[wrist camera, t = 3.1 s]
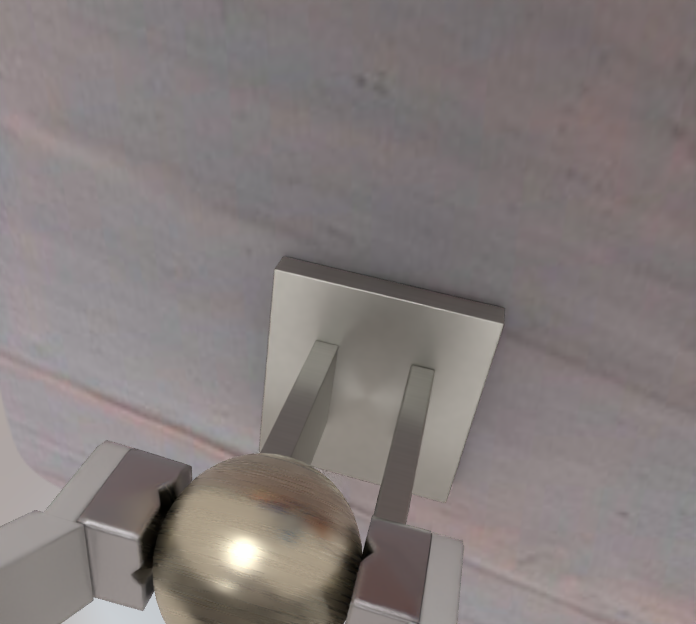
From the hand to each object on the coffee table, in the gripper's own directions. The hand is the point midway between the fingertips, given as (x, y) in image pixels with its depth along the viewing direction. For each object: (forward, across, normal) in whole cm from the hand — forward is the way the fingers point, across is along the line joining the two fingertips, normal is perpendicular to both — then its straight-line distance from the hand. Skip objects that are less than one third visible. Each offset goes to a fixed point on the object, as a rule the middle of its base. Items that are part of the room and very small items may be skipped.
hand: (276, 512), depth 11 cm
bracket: (+15, 0, +9) cm, 17 cm away
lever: (+3, 0, +3) cm, 5 cm away
